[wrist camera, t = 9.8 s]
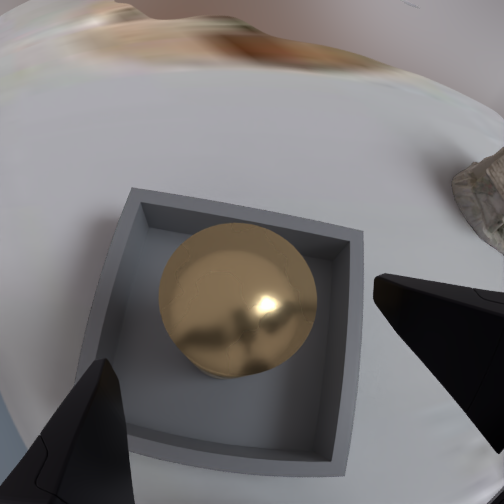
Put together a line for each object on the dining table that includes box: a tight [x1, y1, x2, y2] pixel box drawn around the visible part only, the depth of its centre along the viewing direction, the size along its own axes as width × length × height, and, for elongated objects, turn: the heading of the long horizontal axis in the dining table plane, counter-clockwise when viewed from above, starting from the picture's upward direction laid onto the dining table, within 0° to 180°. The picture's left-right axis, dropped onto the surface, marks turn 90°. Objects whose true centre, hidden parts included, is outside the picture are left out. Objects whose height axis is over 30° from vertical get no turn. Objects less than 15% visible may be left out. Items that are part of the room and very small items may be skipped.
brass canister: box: [158, 223, 317, 380], centre depth 15 cm, size 5×5×11 cm
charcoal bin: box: [74, 188, 364, 477], centre depth 19 cm, size 16×16×4 cm
